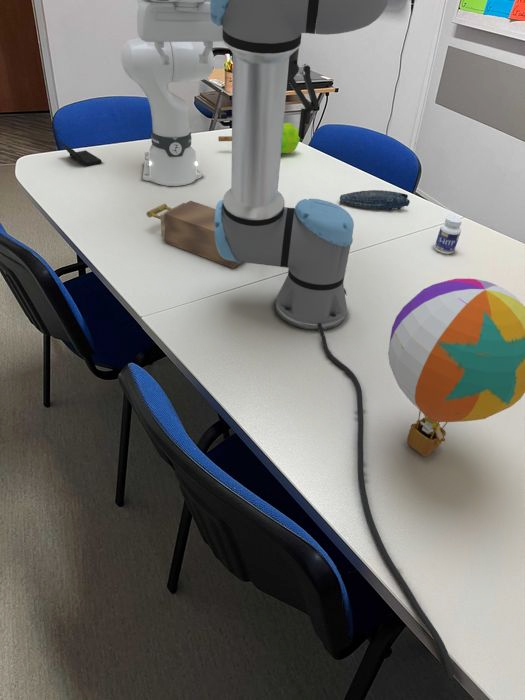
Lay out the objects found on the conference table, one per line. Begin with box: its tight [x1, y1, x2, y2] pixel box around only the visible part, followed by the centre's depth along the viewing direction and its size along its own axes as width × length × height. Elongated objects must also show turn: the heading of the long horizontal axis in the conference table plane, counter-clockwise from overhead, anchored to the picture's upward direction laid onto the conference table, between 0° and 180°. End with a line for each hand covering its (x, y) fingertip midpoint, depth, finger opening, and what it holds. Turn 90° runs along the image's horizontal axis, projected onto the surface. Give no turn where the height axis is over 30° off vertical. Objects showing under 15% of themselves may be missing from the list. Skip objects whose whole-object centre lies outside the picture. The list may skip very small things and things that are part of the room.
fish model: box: [339, 189, 411, 211], centre depth 158 cm, size 7×21×5 cm, turn 84°
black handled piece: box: [57, 140, 103, 167], centre depth 170 cm, size 12×7×10 cm
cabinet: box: [163, 200, 242, 269], centre depth 129 cm, size 21×10×8 cm, turn 59°
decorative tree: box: [217, 122, 301, 154], centre depth 188 cm, size 18×10×30 cm
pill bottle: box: [434, 215, 463, 255], centre depth 137 cm, size 5×5×9 cm
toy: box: [387, 278, 525, 458], centre depth 75 cm, size 20×20×30 cm
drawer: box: [146, 202, 186, 239], centre depth 131 cm, size 26×9×6 cm, turn 59°
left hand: (184, 64), depth 118 cm, fingers open, 8 cm apart
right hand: (274, 136), depth 131 cm, fingers open, 13 cm apart
